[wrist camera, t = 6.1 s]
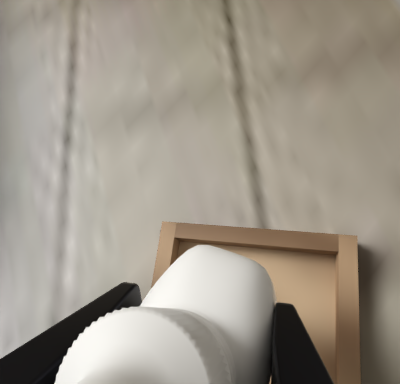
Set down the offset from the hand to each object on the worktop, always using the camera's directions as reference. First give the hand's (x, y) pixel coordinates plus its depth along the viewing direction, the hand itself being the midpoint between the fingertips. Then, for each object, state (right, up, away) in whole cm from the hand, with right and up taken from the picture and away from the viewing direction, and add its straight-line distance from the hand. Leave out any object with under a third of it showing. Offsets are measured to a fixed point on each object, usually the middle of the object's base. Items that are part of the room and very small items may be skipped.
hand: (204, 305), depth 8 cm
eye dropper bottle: (+1, -4, +6) cm, 7 cm away
